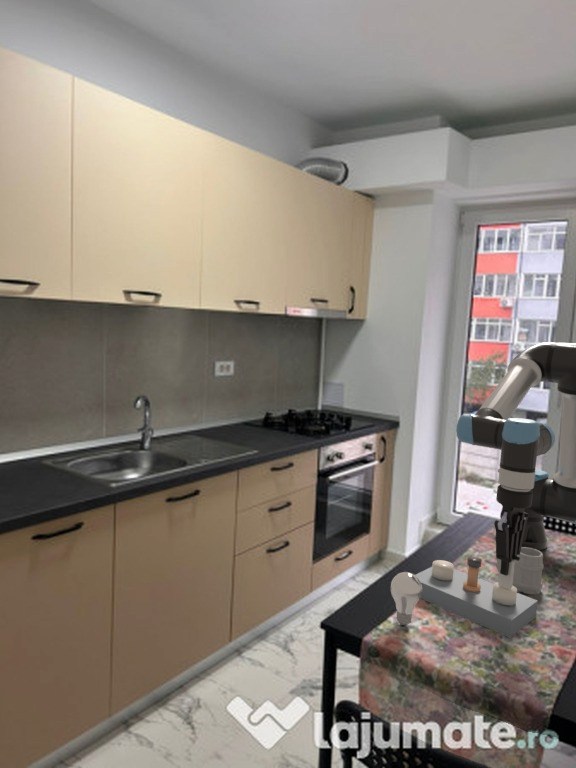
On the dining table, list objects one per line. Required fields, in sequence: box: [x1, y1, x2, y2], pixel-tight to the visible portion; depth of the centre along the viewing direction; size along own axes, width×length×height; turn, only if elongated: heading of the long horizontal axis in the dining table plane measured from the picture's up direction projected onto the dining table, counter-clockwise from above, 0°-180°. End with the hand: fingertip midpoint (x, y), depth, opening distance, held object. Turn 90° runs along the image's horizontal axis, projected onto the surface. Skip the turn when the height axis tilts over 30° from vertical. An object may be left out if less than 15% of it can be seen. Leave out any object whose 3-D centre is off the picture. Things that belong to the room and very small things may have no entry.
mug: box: [496, 547, 544, 595], centre depth 149 cm, size 8×12×12 cm, turn 53°
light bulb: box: [390, 571, 422, 627], centre depth 126 cm, size 7×7×12 cm
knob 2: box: [492, 582, 518, 607], centre depth 132 cm, size 5×5×7 cm
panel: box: [414, 566, 539, 638], centre depth 137 cm, size 14×26×4 cm, turn 45°
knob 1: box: [431, 559, 455, 581], centre depth 143 cm, size 5×5×7 cm
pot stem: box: [463, 556, 482, 593], centre depth 137 cm, size 4×4×7 cm
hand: (505, 586), depth 131 cm, fingers closed
